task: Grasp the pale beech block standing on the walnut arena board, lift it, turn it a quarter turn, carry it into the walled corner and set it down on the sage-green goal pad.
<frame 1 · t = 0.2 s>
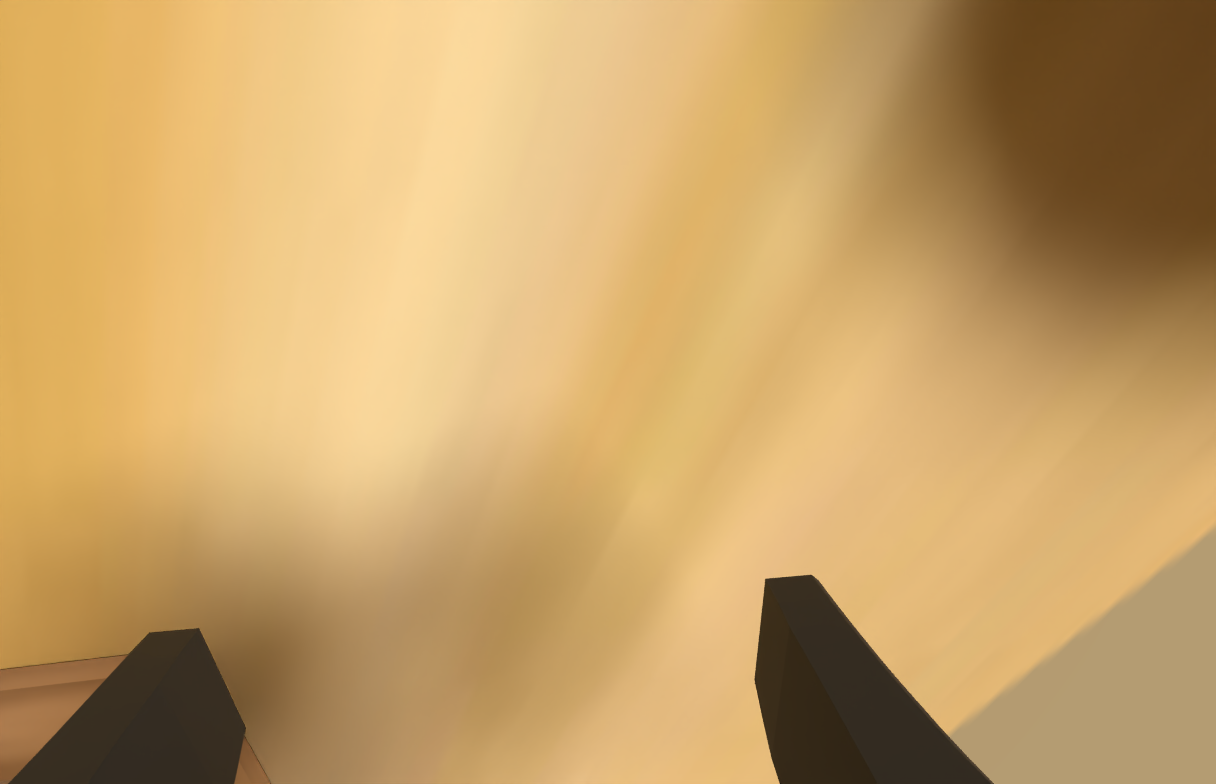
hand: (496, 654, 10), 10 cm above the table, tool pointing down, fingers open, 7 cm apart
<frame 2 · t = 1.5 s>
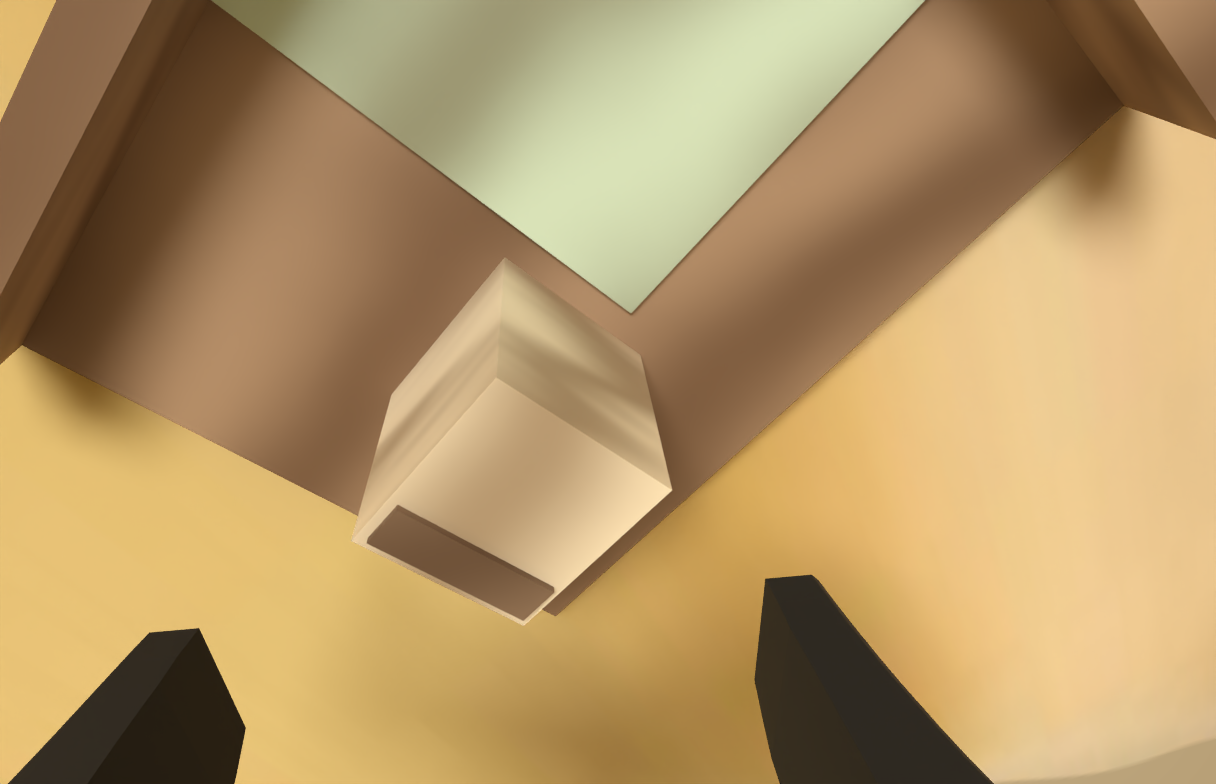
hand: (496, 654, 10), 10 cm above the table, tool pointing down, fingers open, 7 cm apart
block: (515, 374, 19), point 1 cm above the table, touching arena
arena: (554, 184, 17), on the table
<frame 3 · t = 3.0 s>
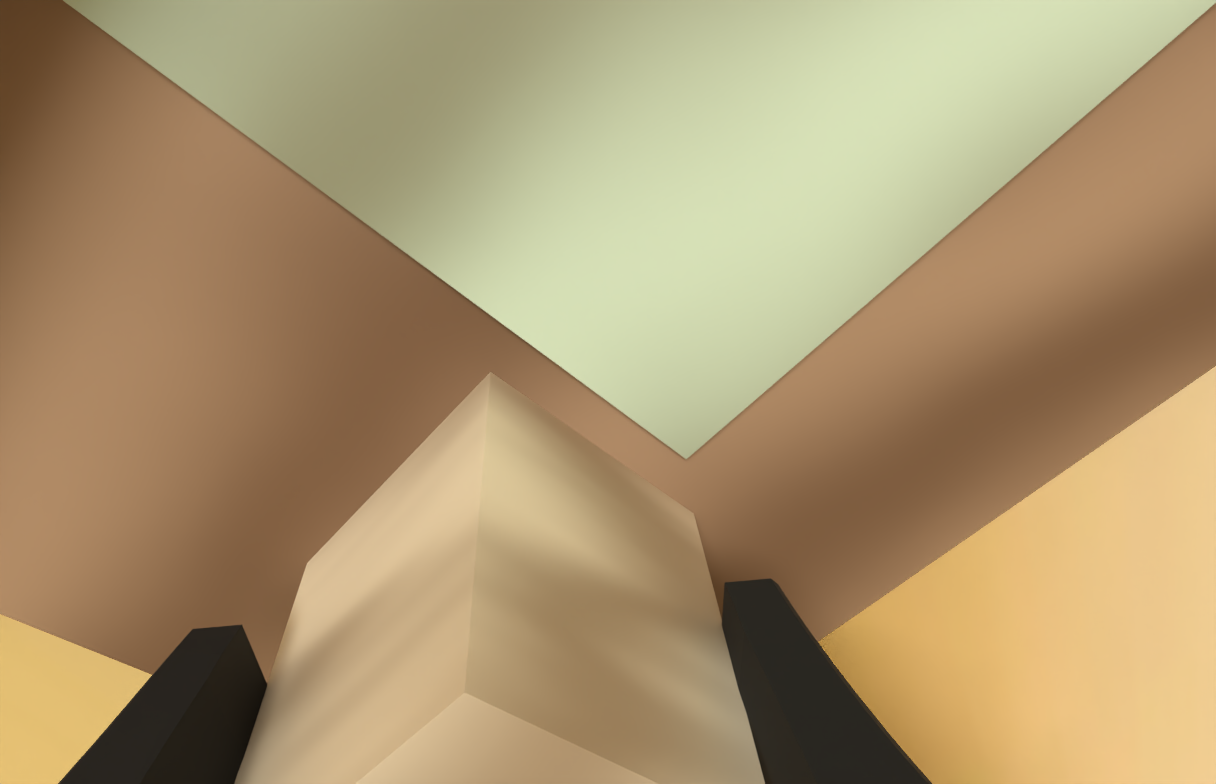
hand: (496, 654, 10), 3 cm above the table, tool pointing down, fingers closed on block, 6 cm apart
block: (501, 538, 12), point 1 cm above the table, touching arena, gripper
arena: (574, 256, 11), on the table
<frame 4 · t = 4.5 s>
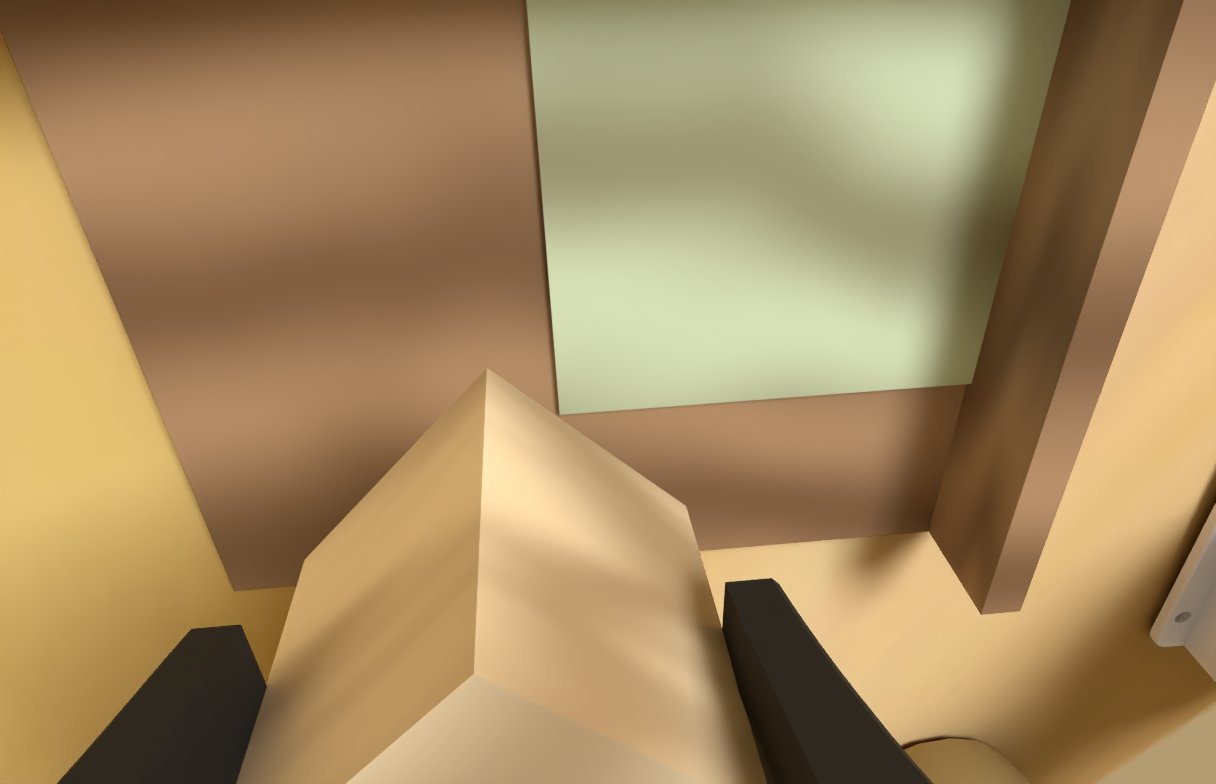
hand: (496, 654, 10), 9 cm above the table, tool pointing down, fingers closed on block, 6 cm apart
squeeze bottle: (924, 773, 30), on the table
block: (497, 532, 12), point 7 cm above the table, touching gripper
arena: (593, 277, 18), on the table
when the fingers open (4 cm above the table, at t = 6.4 s): block stays where it is, resting on arena.
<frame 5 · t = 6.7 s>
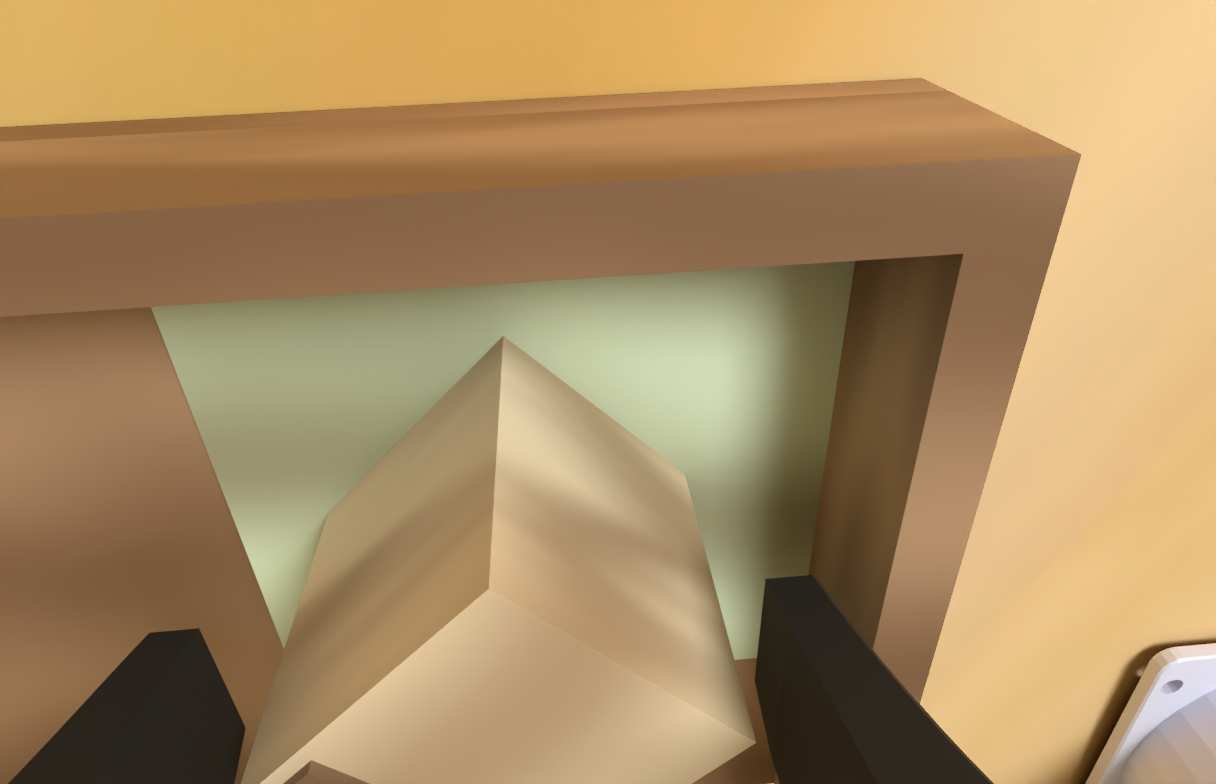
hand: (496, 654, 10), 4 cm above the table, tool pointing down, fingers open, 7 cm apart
block: (507, 492, 13), point 1 cm above the table, touching arena
arena: (331, 550, 15), on the table
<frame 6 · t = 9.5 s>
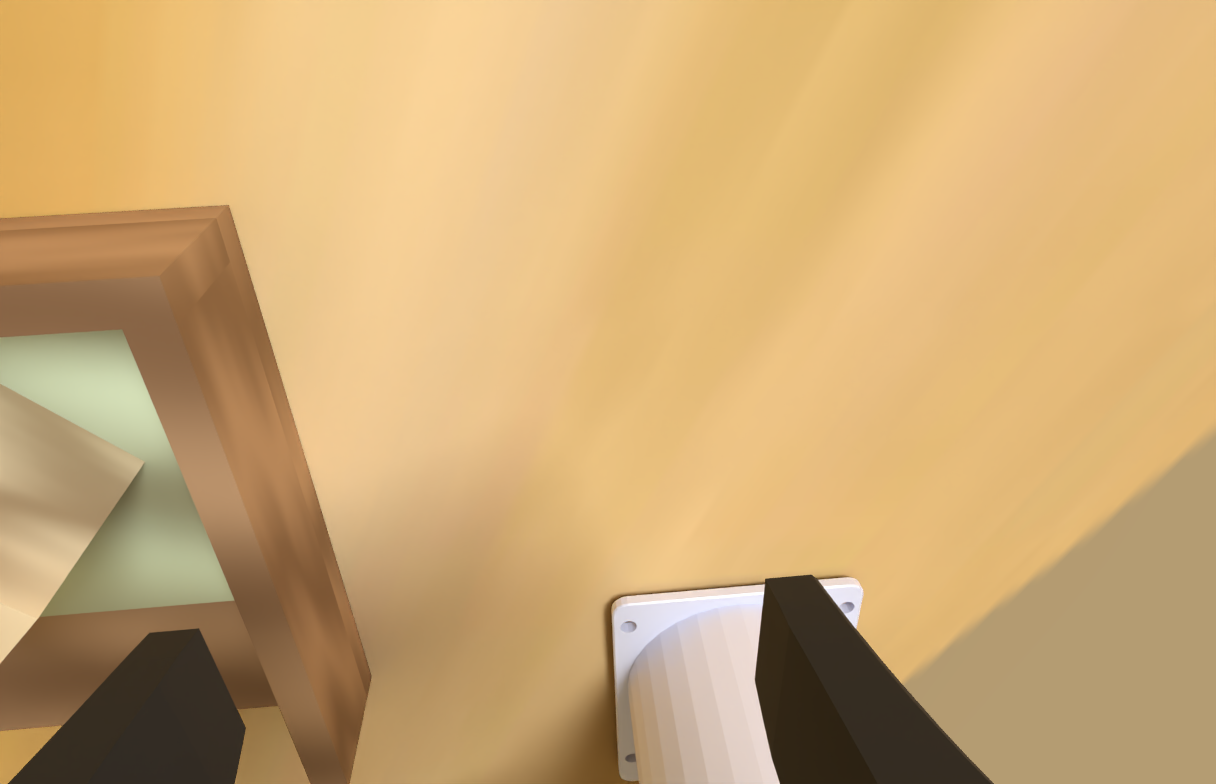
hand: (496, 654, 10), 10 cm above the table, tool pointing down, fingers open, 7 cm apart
block: (21, 474, 19), point 1 cm above the table, touching arena
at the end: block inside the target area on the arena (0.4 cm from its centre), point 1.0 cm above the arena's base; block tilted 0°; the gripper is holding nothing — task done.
